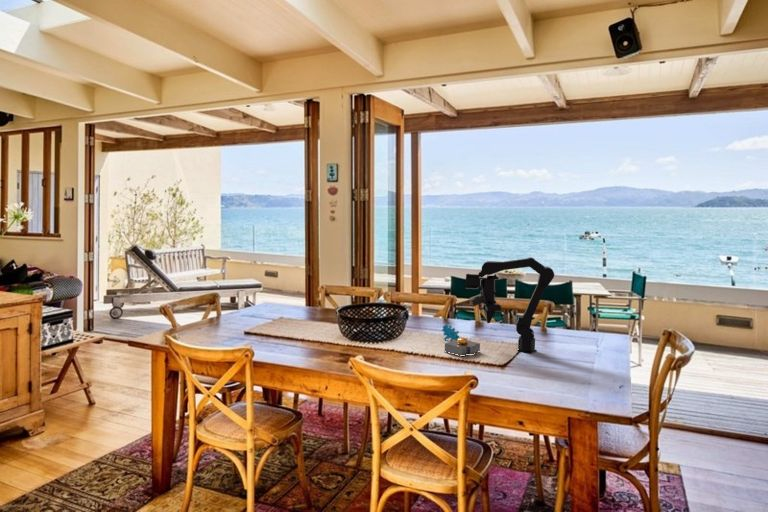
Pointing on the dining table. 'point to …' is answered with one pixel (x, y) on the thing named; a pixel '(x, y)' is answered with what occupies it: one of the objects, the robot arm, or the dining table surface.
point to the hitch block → (462, 347)
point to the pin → (462, 341)
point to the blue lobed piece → (450, 333)
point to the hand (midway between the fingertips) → (488, 323)
